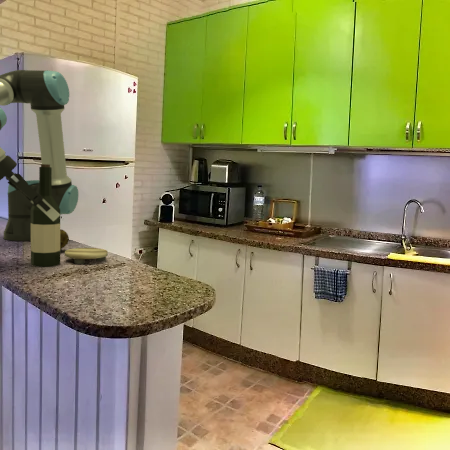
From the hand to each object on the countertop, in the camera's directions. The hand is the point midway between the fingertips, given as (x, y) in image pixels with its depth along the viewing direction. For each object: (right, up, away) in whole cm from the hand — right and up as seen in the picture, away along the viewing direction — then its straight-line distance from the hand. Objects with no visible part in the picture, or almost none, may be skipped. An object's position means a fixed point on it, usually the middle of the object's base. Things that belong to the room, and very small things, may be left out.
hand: (53, 215), depth 138 cm
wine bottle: (-3, -15, +1) cm, 15 cm away
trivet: (+7, -14, +8) cm, 18 cm away
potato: (-8, -12, +23) cm, 27 cm away
